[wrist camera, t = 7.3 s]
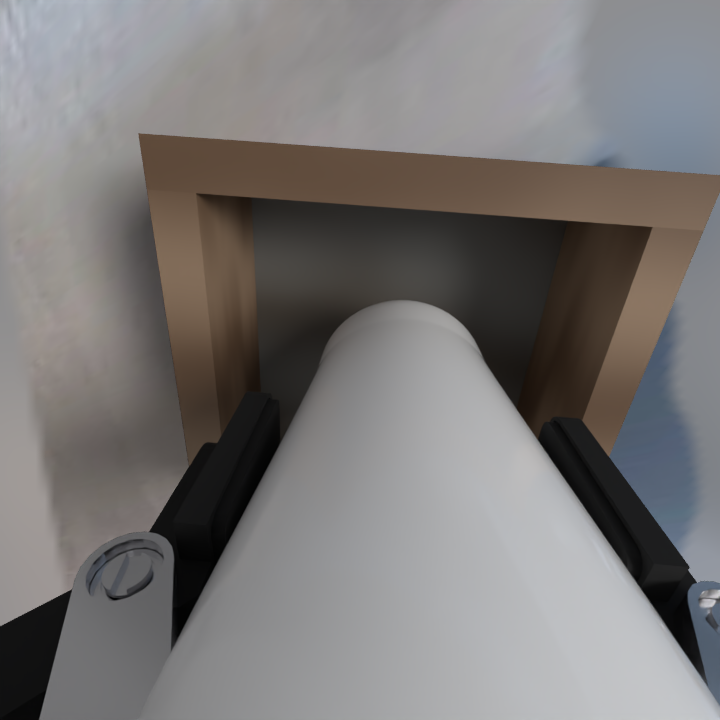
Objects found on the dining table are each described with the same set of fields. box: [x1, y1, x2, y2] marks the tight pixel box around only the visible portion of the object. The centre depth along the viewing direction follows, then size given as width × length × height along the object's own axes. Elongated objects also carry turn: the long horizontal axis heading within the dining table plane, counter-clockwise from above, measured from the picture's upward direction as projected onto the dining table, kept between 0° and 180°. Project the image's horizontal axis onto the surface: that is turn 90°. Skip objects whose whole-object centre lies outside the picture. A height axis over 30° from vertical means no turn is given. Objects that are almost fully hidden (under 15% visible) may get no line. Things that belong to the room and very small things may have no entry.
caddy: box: [139, 134, 720, 466], centre depth 15 cm, size 13×13×6 cm
